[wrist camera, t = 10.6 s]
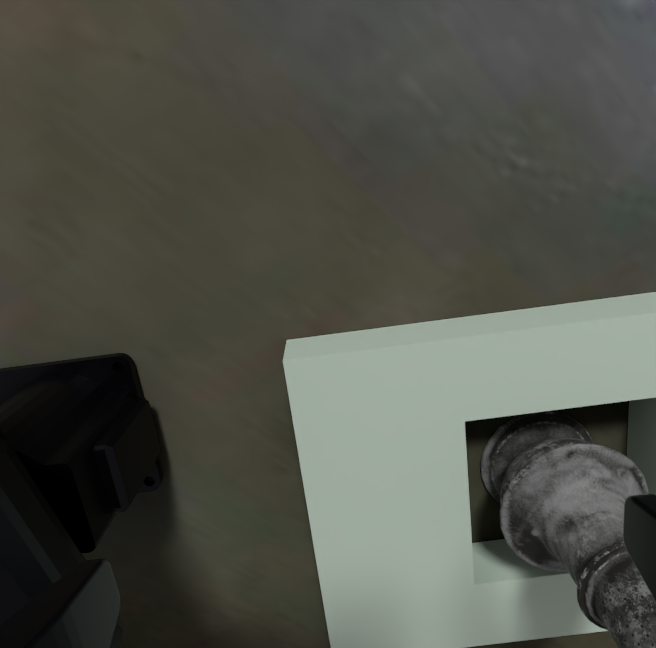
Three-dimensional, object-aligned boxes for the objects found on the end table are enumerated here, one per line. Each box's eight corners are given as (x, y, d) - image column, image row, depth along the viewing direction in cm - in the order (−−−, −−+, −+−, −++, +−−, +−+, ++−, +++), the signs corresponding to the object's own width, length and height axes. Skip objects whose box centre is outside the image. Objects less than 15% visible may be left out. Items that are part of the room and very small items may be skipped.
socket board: (331, 617, 25) (333, 663, 23) (286, 339, 21) (282, 360, 19) (646, 579, 25) (681, 621, 23) (664, 290, 21) (709, 305, 18)
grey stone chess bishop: (620, 418, 23) (934, 669, 11) (573, 525, 24) (804, 843, 13) (497, 391, 22) (691, 624, 11) (457, 503, 24) (589, 811, 12)
